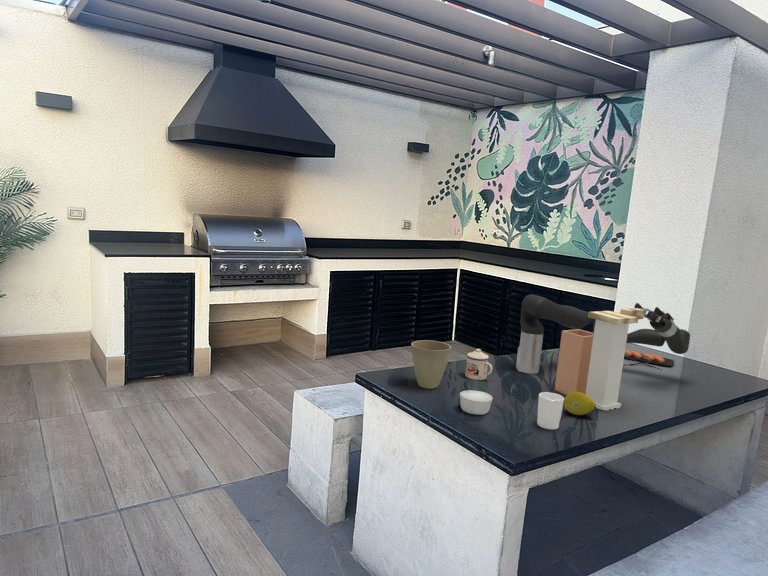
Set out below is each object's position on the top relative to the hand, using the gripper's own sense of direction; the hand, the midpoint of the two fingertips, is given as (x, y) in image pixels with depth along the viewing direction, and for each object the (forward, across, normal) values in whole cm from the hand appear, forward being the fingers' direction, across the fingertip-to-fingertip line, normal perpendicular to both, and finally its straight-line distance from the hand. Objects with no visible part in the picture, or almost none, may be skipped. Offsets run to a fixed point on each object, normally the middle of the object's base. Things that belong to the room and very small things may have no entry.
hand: (645, 307), depth 223 cm
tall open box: (+9, -6, +44) cm, 46 cm away
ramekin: (+52, -6, +69) cm, 87 cm away
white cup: (+40, +14, +62) cm, 75 cm away
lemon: (+24, +11, +53) cm, 60 cm away
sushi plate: (-54, -26, +10) cm, 61 cm away
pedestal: (+9, +7, +45) cm, 46 cm away
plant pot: (+53, -32, +70) cm, 93 cm away
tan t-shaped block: (+21, +7, +14) cm, 26 cm away
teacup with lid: (+30, -33, +57) cm, 72 cm away
